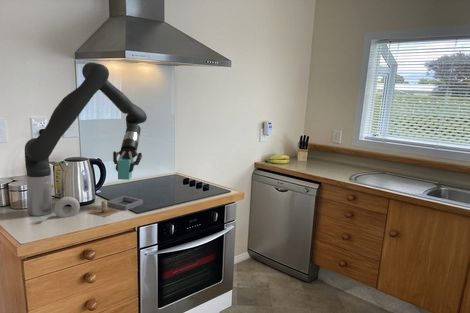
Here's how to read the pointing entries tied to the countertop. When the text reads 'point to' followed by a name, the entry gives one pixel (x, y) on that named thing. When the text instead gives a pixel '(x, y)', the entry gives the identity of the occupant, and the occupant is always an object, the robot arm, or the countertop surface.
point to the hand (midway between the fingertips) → (123, 171)
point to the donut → (65, 201)
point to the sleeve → (124, 169)
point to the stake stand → (104, 210)
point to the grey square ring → (115, 204)
